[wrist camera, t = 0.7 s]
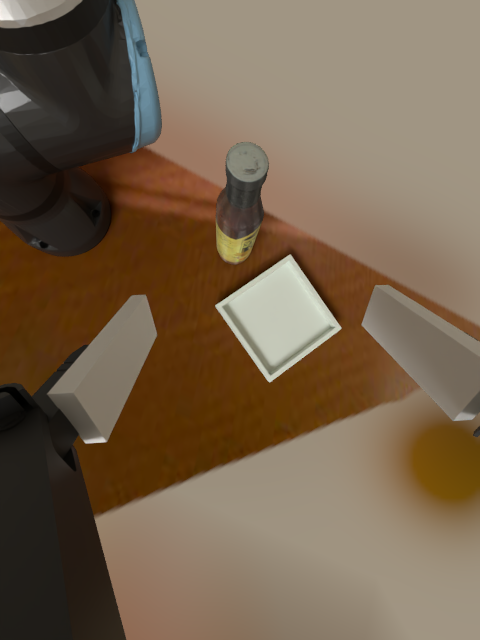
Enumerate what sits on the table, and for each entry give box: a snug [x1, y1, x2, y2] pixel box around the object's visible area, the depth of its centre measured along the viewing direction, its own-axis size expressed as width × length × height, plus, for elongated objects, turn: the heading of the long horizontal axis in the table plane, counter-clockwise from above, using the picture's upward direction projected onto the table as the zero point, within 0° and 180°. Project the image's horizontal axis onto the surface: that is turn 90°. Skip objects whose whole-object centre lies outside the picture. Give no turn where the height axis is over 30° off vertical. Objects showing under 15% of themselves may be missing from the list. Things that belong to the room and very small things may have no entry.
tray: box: [215, 254, 342, 383], centre depth 38 cm, size 16×16×2 cm
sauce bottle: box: [216, 142, 269, 264], centre depth 29 cm, size 7×6×20 cm
